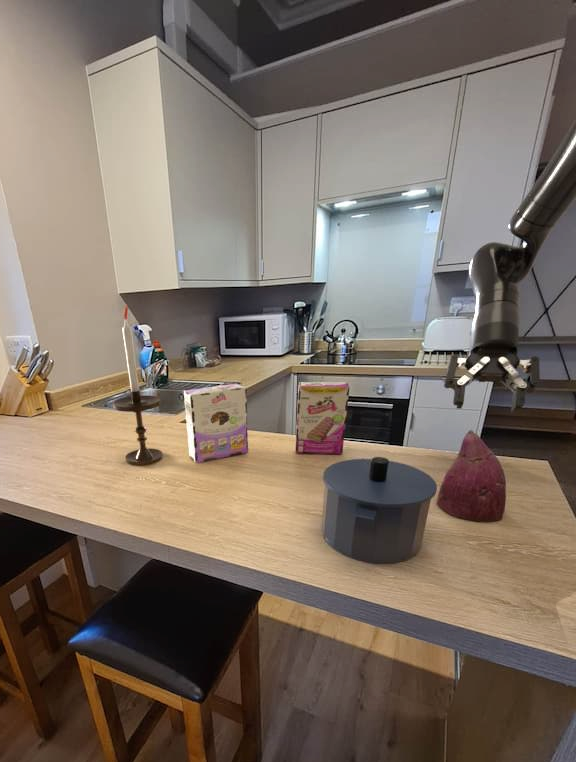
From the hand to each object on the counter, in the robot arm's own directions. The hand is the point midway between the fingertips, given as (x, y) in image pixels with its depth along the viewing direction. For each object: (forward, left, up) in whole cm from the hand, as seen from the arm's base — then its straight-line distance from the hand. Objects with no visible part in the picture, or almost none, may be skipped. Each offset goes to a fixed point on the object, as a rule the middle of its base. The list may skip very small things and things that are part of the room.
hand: (487, 408), depth 70 cm
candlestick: (+69, +14, -15) cm, 72 cm away
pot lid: (+14, +27, -5) cm, 31 cm away
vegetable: (0, +11, -15) cm, 18 cm away
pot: (+14, +27, -15) cm, 34 cm away
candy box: (+53, +5, -15) cm, 56 cm away
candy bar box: (+31, -6, -15) cm, 35 cm away
